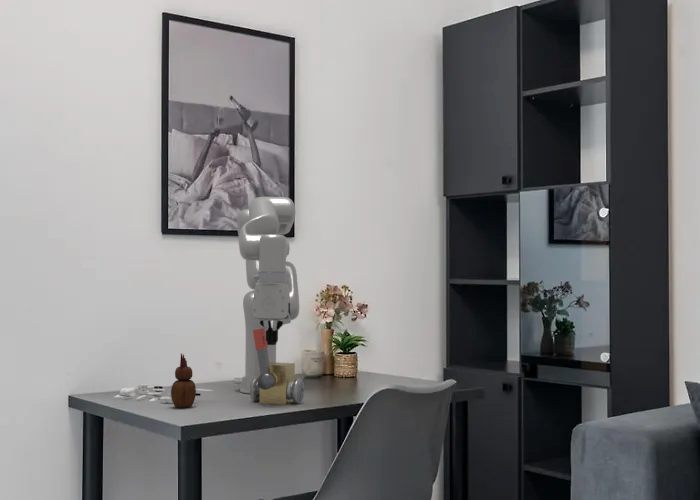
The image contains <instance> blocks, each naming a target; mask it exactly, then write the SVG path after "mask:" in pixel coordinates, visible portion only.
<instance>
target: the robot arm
mask: <svg viewBox="0 0 700 500" xmlns="http://www.w3.org/2000/svg"><path fill="white" fill-rule="evenodd" d="M296 212H297V211H296V205H295V203H294V202H293V200H292V199H291V198H289V197H287V196H258V197H255V198H254V199H252V200H251V201H250V203H249V204H248V208H246V209H242V210H241V211H239V212H238V214H237V217H236V227H237V235H238V246H239V247H238V248H239V254H240V256H241V258H242V259H243V260H245V271H246V282H247V283H246V284H247V285H248V288H250V289H251V290H250V291H248V292H247V293H245V295H244V296H243V300H242V308H243V309H242V310H243V313H244V325H245V326H244V327H245V367H244V371H245V375H244V376H242V377H234V378H233V384H234V385H241V387H239V388H240V389H239V391H240V392H241V393H243V394H249V395H250V385H251V381H252V379H253V378H254V377H259V376H260V368H259V361H258V355H257V350H256V348H255V341H254V335H253V330H257V329H263V328H264V329H265V332H266V342H267V345H268V348H267V351H268V358H269V362H277V342H278V341H279V334H278V333H279V330H280V328H282V327H283V326H284V325H288V324H291V322H292V321H294V320H295V319H297V317H298V316H299V314H300V296H299V286H298V276H297V275H298V274H297V270H296V267H295V265H294V264H293V263H292V262H291V261H287V257H288V256H289V254H290V250H291V249H290V242H289V240H288V238H287V237H286V236H285V235H286V234H289V233H290V232H291V229H292V227H293V224H294V222H295V219H296Z"/></svg>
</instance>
